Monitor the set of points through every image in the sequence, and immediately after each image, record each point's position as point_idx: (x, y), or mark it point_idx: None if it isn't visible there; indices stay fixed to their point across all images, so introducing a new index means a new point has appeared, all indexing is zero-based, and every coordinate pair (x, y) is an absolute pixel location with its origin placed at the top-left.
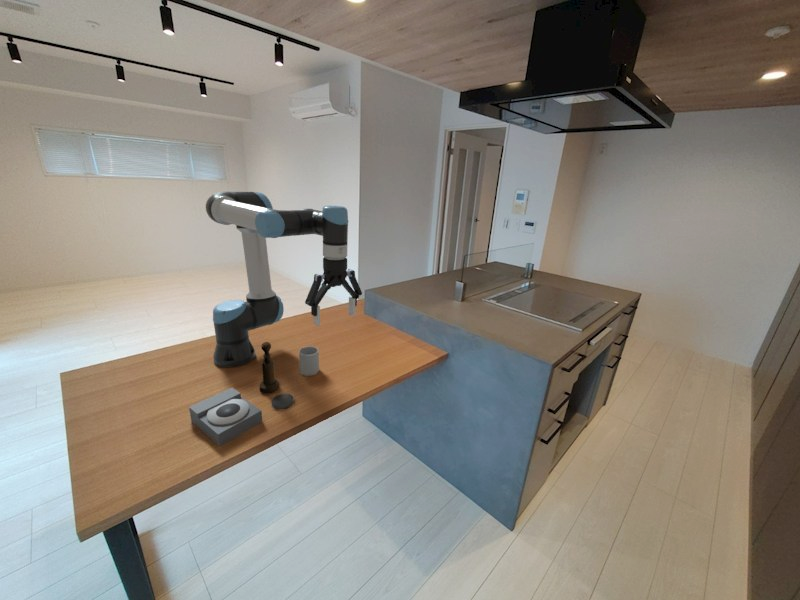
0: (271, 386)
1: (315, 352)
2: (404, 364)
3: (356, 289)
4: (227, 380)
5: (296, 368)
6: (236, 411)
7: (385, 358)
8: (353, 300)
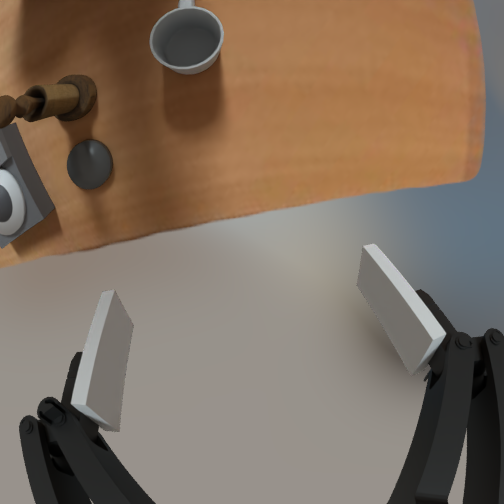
0: (68, 118)
1: (218, 29)
2: (410, 163)
3: (470, 406)
4: (18, 40)
5: None
6: (9, 213)
7: (399, 113)
8: (406, 367)
